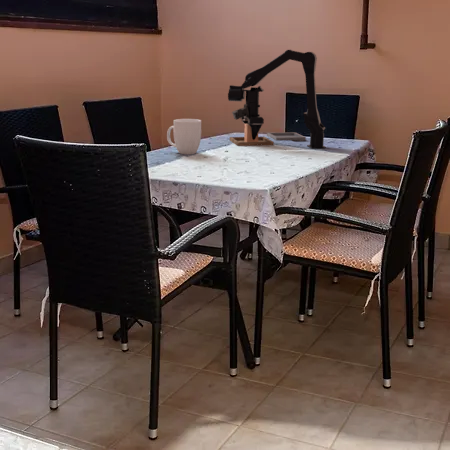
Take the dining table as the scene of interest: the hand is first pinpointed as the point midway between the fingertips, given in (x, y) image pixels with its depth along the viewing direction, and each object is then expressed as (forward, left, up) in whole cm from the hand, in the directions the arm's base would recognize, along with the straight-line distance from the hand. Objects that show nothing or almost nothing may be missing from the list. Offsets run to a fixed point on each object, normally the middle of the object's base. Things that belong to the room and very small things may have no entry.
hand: (251, 138), depth 285 cm
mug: (-20, +32, -3) cm, 38 cm away
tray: (+14, -20, -3) cm, 25 cm away
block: (0, 0, -2) cm, 2 cm away
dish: (0, 0, -3) cm, 3 cm away
